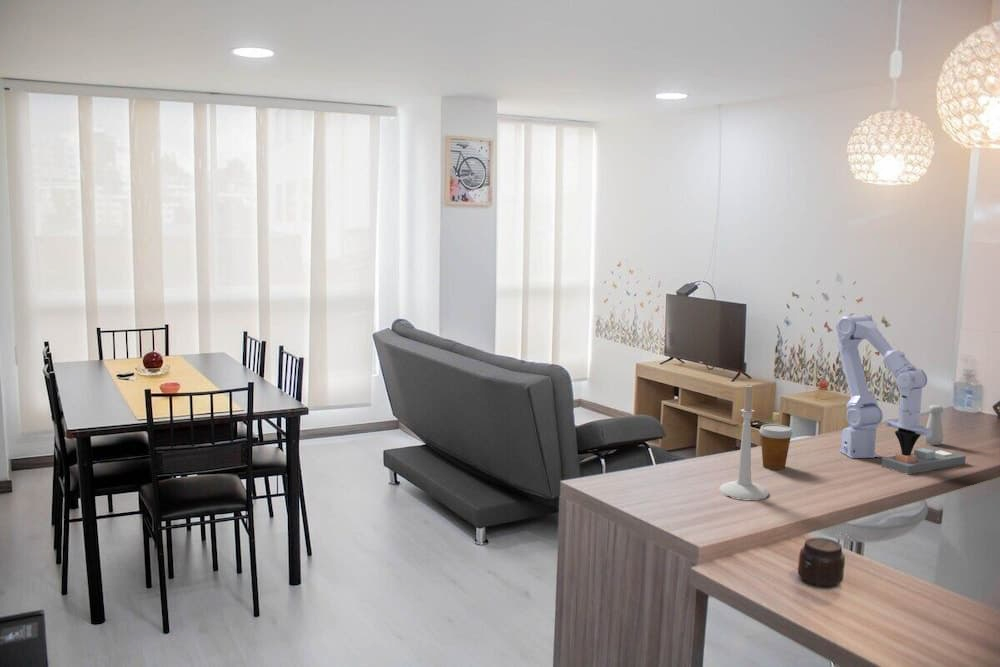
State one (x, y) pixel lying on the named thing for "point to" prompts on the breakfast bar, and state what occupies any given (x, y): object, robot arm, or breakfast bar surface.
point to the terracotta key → (906, 458)
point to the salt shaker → (935, 425)
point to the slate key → (924, 454)
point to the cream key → (943, 453)
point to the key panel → (924, 463)
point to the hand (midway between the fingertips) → (906, 454)
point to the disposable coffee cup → (775, 445)
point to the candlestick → (745, 460)
